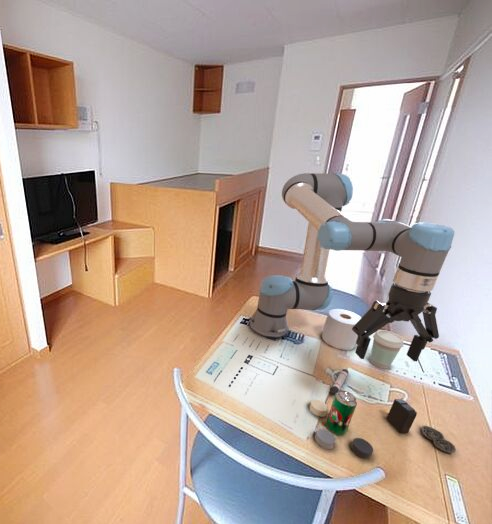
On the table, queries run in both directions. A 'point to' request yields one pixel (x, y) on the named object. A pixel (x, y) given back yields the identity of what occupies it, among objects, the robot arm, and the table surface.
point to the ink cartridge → (401, 416)
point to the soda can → (341, 412)
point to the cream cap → (318, 408)
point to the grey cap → (325, 438)
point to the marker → (339, 381)
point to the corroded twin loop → (438, 439)
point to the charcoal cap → (362, 448)
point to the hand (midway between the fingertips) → (385, 357)
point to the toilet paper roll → (340, 329)
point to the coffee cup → (385, 348)
